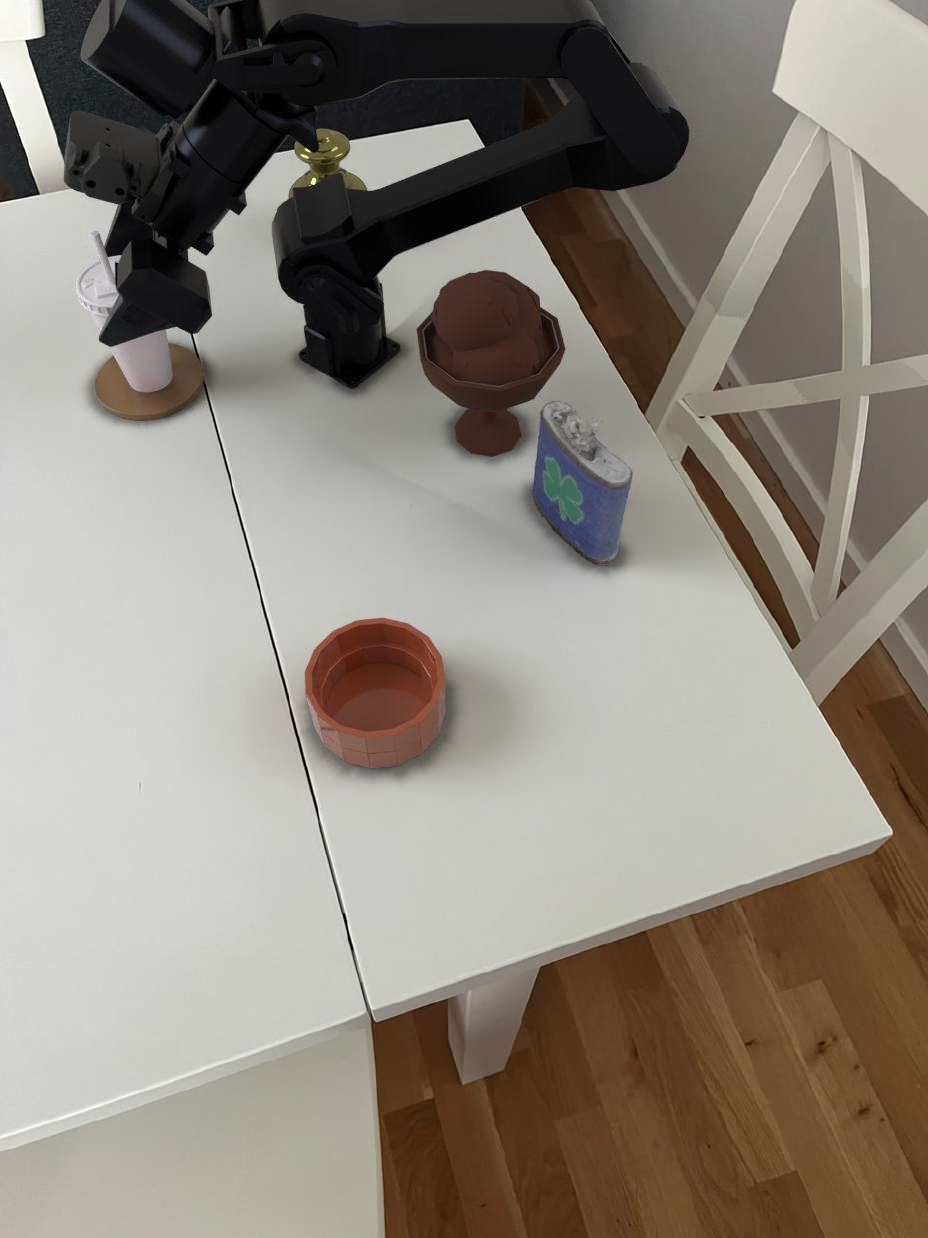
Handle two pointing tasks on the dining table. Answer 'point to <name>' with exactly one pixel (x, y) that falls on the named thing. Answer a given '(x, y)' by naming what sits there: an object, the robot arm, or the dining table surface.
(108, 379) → the coaster
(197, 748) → the dining table surface
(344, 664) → the bowl
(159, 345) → the smoothie
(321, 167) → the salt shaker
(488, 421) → the ice cream bowl
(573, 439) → the flask
